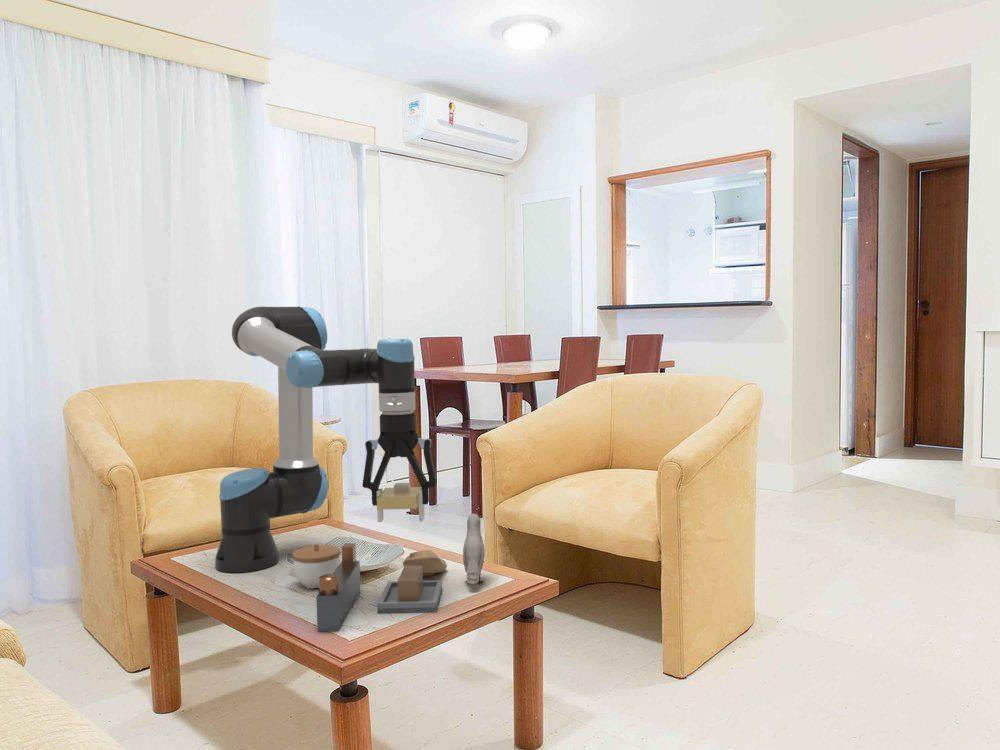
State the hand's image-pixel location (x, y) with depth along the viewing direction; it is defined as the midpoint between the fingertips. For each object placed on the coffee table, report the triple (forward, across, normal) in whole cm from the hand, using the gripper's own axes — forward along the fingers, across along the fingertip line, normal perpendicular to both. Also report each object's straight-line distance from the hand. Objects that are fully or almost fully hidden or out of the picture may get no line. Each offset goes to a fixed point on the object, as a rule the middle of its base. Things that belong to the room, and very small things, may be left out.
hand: (401, 520), depth 157 cm
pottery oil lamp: (+18, +3, +17) cm, 25 cm away
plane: (+18, -12, -4) cm, 22 cm away
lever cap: (-3, 0, 0) cm, 3 cm away
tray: (+18, +1, +1) cm, 18 cm away
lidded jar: (+18, -22, +13) cm, 31 cm away
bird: (+18, +14, +12) cm, 26 cm away
